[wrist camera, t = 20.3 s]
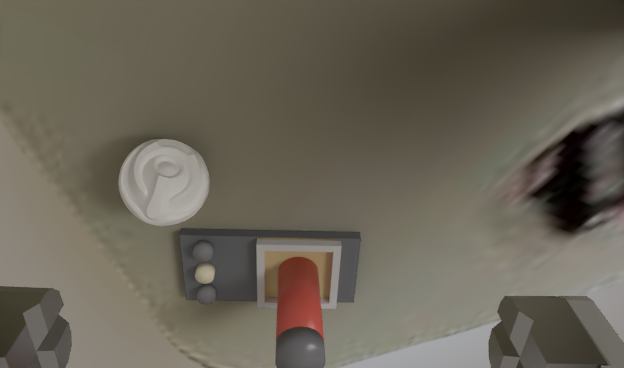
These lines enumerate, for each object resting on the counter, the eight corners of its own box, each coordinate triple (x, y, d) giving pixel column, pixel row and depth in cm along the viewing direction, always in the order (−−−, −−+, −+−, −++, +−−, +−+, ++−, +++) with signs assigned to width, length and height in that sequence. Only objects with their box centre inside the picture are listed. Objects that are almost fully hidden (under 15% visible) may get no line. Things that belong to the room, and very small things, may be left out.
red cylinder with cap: (318, 256, 54) (325, 343, 43) (318, 287, 56) (324, 377, 46) (277, 257, 54) (274, 344, 43) (278, 288, 56) (276, 378, 45)
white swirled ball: (224, 143, 48) (212, 184, 42) (203, 205, 52) (189, 252, 45) (141, 116, 47) (115, 153, 40) (125, 182, 50) (99, 226, 44)
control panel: (359, 232, 54) (361, 245, 52) (352, 295, 59) (354, 309, 56) (181, 228, 53) (176, 242, 51) (188, 292, 58) (184, 307, 56)
